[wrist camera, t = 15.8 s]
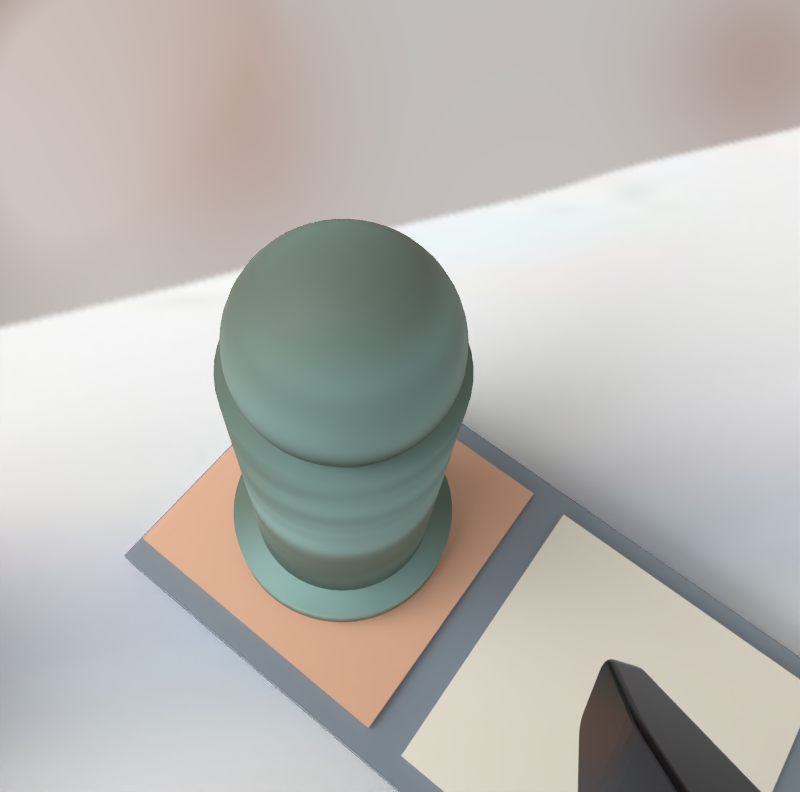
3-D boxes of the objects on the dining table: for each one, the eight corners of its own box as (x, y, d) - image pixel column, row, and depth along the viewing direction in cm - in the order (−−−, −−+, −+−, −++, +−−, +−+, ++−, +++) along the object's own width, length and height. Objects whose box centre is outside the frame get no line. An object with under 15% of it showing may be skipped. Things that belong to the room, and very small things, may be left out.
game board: (1130, 904, 17) (1173, 911, 17) (1046, 1345, 14) (1093, 1383, 13) (336, 350, 23) (336, 333, 22) (131, 563, 20) (122, 553, 19)
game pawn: (475, 589, 19) (607, 400, 9) (259, 649, 18) (167, 502, 8) (414, 401, 21) (472, 103, 12) (221, 444, 20) (117, 154, 11)
